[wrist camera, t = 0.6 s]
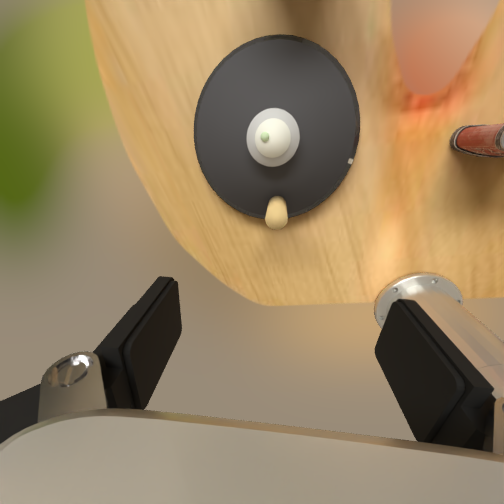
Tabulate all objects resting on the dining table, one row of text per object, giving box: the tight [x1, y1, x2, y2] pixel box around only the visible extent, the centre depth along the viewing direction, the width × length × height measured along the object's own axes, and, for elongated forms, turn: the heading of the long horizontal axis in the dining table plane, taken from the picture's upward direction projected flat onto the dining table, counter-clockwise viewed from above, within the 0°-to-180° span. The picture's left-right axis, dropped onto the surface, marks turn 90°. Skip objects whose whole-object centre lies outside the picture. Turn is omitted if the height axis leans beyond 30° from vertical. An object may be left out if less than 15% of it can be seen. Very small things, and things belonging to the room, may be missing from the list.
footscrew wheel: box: [197, 39, 356, 230], centre depth 26 cm, size 19×19×8 cm
